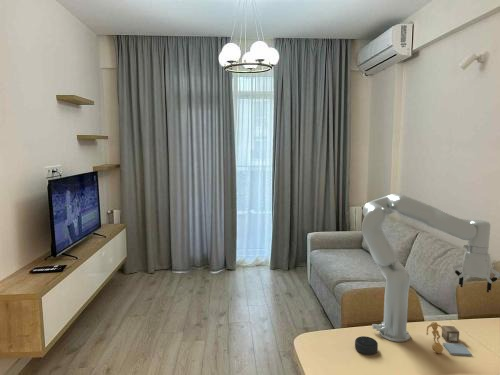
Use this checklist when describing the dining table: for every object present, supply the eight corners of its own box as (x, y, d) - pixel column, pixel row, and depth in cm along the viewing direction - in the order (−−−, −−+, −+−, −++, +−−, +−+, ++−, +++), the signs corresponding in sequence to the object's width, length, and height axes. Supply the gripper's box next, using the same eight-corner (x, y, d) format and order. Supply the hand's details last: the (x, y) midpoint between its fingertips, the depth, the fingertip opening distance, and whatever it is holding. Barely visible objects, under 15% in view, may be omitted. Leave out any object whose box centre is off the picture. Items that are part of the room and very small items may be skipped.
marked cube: (446, 342, 158) (447, 331, 158) (441, 336, 163) (442, 325, 163) (458, 343, 158) (459, 331, 157) (453, 337, 163) (454, 326, 162)
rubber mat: (450, 354, 148) (450, 352, 148) (442, 344, 156) (442, 342, 156) (471, 356, 148) (471, 354, 147) (462, 345, 155) (462, 343, 155)
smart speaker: (350, 347, 154) (350, 337, 154) (367, 342, 158) (367, 333, 157) (364, 357, 146) (365, 348, 146) (382, 353, 150) (382, 343, 149)
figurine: (431, 356, 147) (432, 327, 146) (421, 348, 153) (423, 320, 152) (449, 354, 149) (451, 325, 148) (439, 346, 155) (441, 319, 153)
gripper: (453, 248, 158) (450, 286, 160) (502, 255, 148) (498, 296, 150) (455, 244, 164) (452, 282, 166) (502, 251, 155) (498, 290, 156)
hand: (474, 288), depth 158 cm, fingers open, 9 cm apart
